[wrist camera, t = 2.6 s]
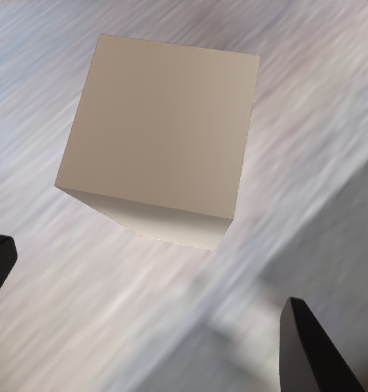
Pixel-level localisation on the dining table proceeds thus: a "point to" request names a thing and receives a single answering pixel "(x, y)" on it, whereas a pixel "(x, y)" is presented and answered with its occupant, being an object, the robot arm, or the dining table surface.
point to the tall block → (161, 138)
